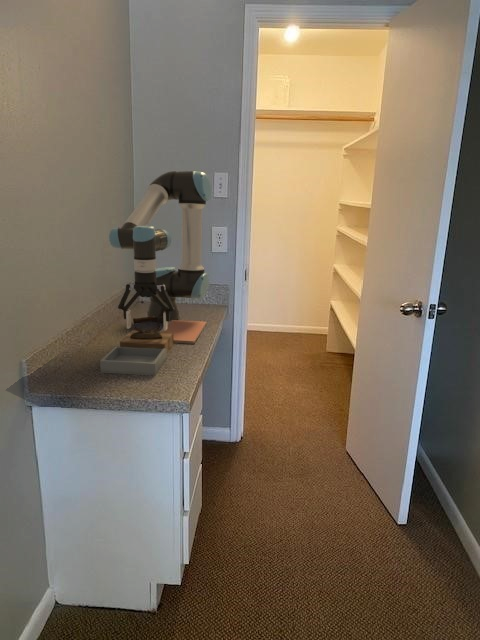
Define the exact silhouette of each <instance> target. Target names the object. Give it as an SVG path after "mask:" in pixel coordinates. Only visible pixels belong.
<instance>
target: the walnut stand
mask: <svg viewBox="0 0 480 640" xmlns="http://www.w3.org/2000/svg"><path fill="white" fill-rule="evenodd" d="M136 332H139V331H137V330H131V331H130V332H129V333H128V334H127V335H125V337H124V338H122V339H121V340H120V341H119V347H133V348H153V349H163V348H165V349H167V355H168V354H169V352H170V351H171V349H172V348H173V346H174V345H175V343H174V338H173V332H160V331H159V333H160V334H161V336H162V338H161V339H132V338H130V336H131V335H132V334H133V333H136Z"/></svg>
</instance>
